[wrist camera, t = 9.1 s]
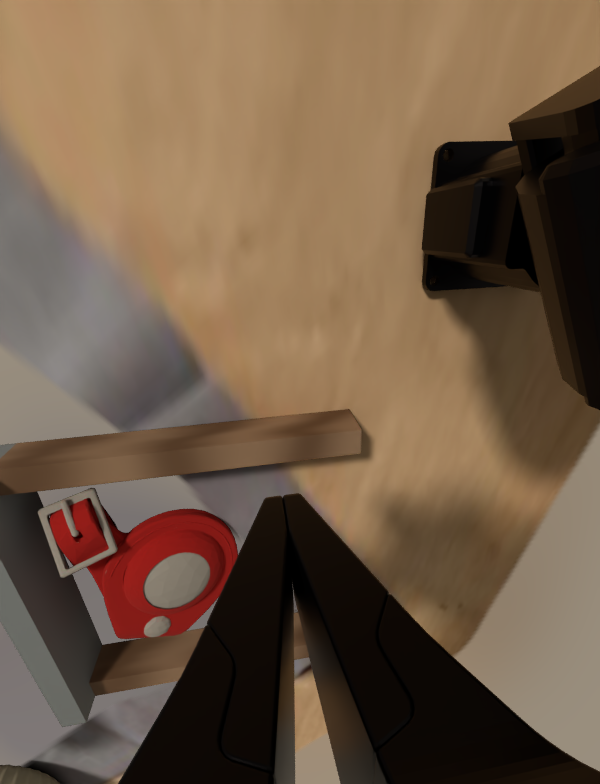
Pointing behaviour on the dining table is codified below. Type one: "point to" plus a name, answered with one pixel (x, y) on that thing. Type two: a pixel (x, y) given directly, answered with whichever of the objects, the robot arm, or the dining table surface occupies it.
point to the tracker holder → (144, 562)
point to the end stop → (45, 610)
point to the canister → (24, 776)
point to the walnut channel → (167, 458)
